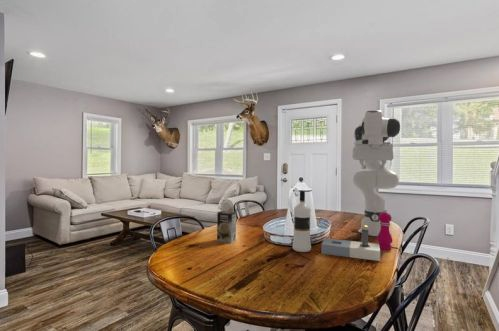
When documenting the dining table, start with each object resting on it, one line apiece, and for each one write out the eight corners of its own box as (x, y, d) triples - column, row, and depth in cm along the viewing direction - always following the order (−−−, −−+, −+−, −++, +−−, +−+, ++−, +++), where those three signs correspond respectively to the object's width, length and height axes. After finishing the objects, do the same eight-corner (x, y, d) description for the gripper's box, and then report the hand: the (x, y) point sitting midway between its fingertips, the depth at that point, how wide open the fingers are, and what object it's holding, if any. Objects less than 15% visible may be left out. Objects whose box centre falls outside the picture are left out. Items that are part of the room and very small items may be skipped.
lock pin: (360, 253, 139) (361, 225, 139) (368, 254, 138) (368, 225, 137) (360, 255, 136) (361, 226, 136) (368, 256, 134) (368, 227, 134)
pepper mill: (394, 250, 144) (394, 211, 143) (378, 249, 145) (379, 210, 145) (390, 246, 151) (390, 208, 150) (375, 245, 152) (376, 208, 152)
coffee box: (216, 241, 158) (216, 212, 158) (222, 238, 164) (222, 210, 164) (231, 243, 154) (231, 213, 154) (236, 240, 160) (236, 211, 160)
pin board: (324, 246, 150) (324, 238, 150) (379, 253, 140) (379, 243, 140) (321, 253, 139) (321, 244, 138) (380, 261, 129) (380, 251, 129)
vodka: (291, 247, 149) (291, 189, 148) (308, 247, 149) (309, 189, 148) (294, 252, 139) (295, 191, 139) (313, 252, 140) (313, 191, 139)
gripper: (388, 142, 148) (388, 169, 148) (351, 141, 146) (350, 168, 146) (396, 141, 142) (395, 169, 142) (357, 140, 140) (356, 169, 140)
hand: (372, 169), depth 144 cm, fingers open, 8 cm apart
